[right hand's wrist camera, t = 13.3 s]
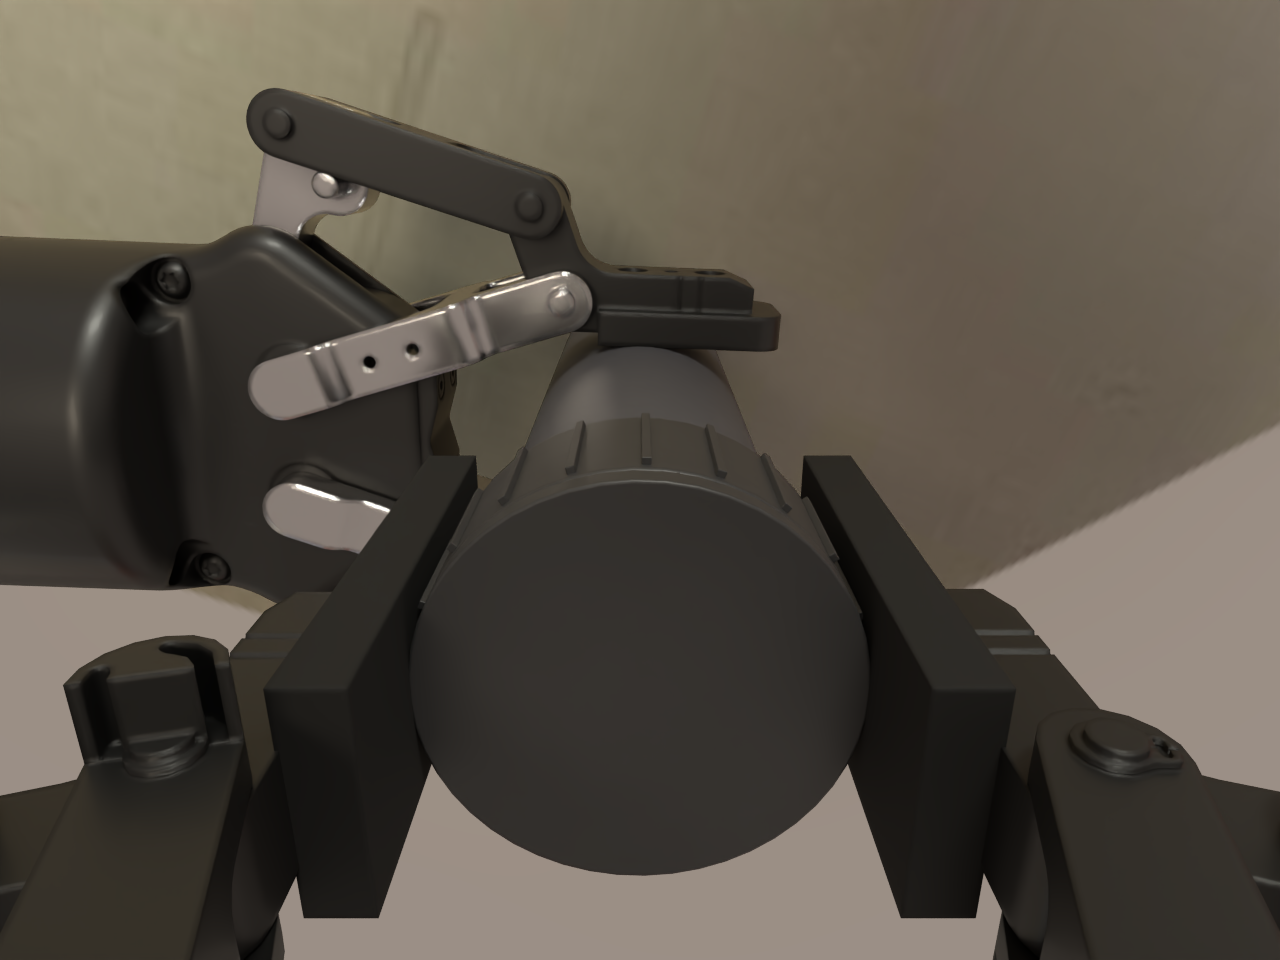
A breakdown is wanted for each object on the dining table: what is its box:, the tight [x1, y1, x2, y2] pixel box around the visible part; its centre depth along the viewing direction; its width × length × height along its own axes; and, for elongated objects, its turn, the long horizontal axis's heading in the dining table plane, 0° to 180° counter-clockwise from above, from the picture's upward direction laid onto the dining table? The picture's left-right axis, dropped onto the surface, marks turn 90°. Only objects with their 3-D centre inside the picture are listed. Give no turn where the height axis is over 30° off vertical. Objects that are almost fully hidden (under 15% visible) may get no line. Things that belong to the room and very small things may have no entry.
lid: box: [409, 413, 871, 876], centre depth 11 cm, size 5×5×2 cm
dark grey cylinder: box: [525, 332, 757, 453], centre depth 18 cm, size 4×4×16 cm
